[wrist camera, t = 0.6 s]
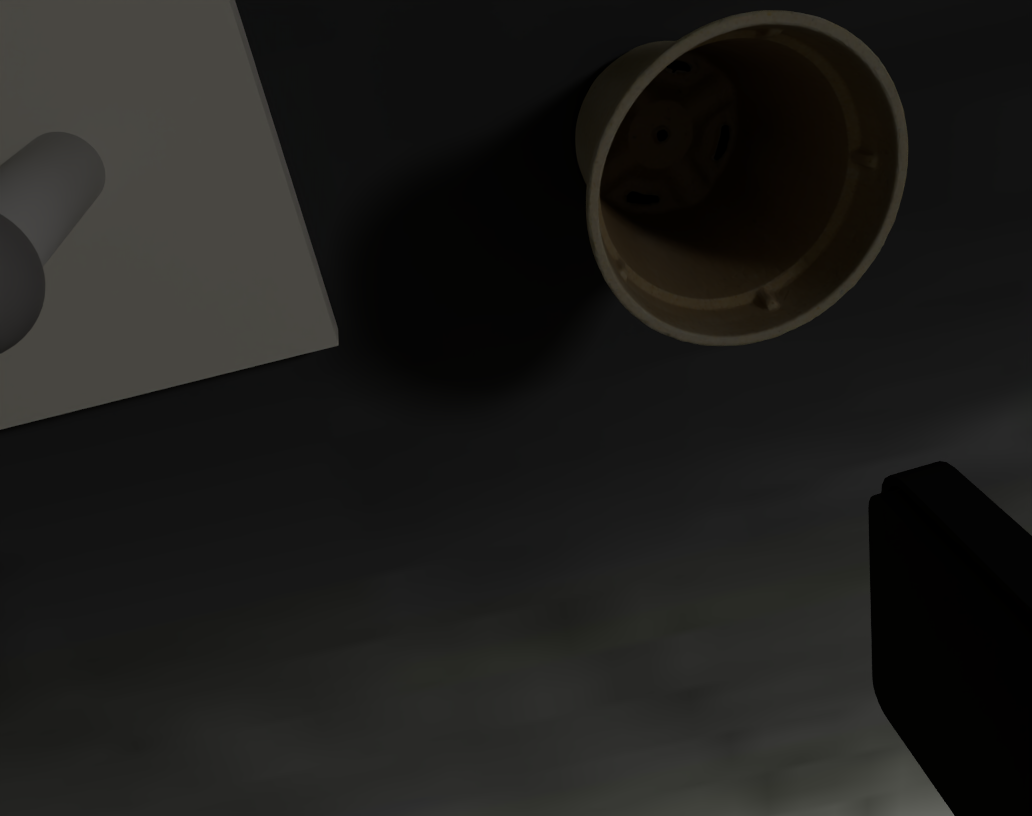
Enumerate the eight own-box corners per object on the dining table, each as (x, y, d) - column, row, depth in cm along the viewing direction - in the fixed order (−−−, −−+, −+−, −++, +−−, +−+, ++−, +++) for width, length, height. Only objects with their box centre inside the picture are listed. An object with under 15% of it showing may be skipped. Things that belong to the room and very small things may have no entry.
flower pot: (500, 28, 31) (556, 67, 23) (768, -46, 31) (907, -32, 24) (558, 284, 36) (619, 384, 28) (790, 216, 36) (912, 297, 29)
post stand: (-275, -67, 26) (-752, -47, 15) (183, -164, 27) (77, -217, 15) (-10, 415, 34) (-183, 675, 22) (337, 328, 35) (344, 536, 23)
